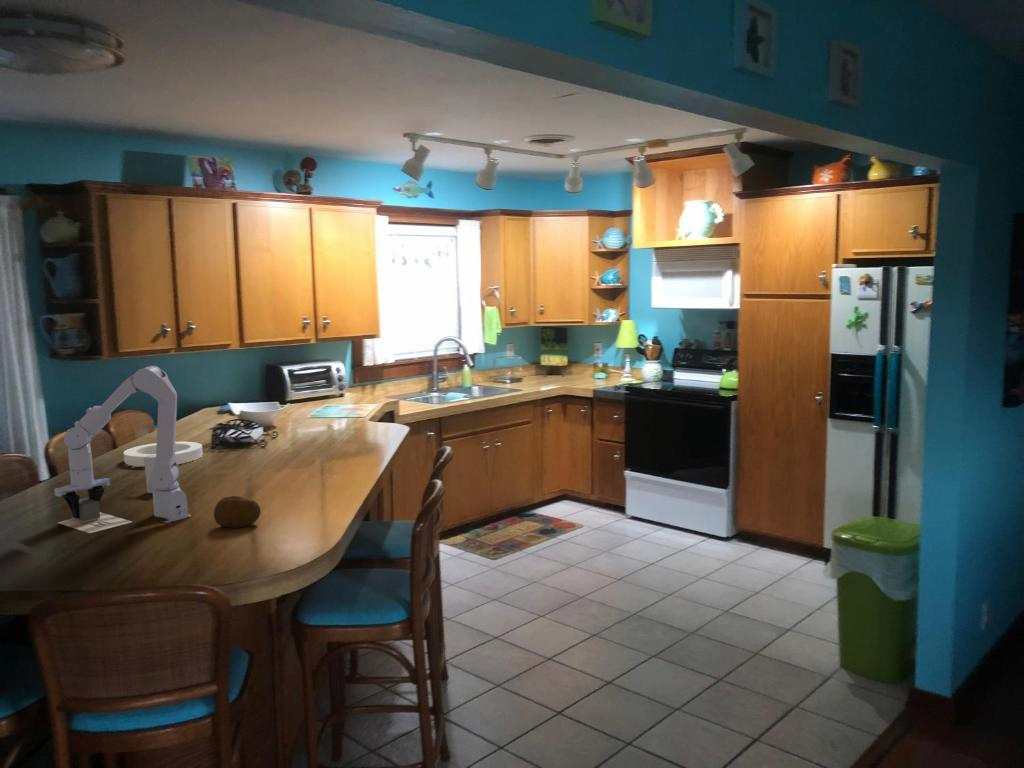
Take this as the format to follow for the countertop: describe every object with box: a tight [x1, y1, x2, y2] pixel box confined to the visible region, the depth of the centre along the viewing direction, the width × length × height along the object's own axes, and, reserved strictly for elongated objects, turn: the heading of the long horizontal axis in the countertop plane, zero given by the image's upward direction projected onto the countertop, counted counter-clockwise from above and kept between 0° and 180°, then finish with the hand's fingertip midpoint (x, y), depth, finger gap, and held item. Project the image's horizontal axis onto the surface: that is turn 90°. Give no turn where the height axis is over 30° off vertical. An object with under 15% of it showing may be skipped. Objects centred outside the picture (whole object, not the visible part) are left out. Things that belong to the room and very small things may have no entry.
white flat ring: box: [123, 441, 204, 466], centre depth 306 cm, size 28×28×5 cm
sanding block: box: [70, 497, 101, 522], centre depth 224 cm, size 7×4×5 cm, turn 55°
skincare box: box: [144, 455, 156, 494], centre depth 257 cm, size 6×4×12 cm
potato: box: [213, 495, 261, 529], centre depth 218 cm, size 8×12×9 cm
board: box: [57, 511, 133, 534], centre depth 221 cm, size 18×12×1 cm, turn 55°
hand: (85, 515), depth 224 cm, fingers closed on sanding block, 4 cm apart
